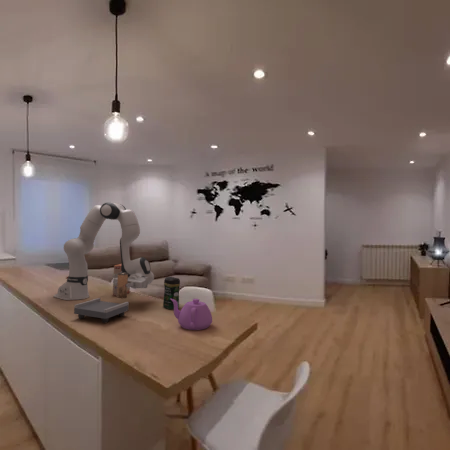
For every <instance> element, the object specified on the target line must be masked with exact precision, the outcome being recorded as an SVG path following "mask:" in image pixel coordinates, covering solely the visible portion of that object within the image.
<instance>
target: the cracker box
mask: <svg viewBox="0 0 450 450" xmlns="http://www.w3.org/2000/svg"><path fill="white" fill-rule="evenodd" d="M120 272H122V271H121V263H119V264H115V265H113V279H114V278H118V273H120ZM128 278H129V277H128ZM130 289H131V287H127V294H129V293H130ZM112 296H114V297H117V285H115V284H113V283H112Z"/></svg>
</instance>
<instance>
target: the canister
mask: <svg viewBox="0 0 450 450" xmlns="http://www.w3.org/2000/svg"><path fill="white" fill-rule="evenodd" d="M126 283H128V273H125V272H120V273H118V281H117V296H116V299H127V298H128V293H127V287H126V286H125V285H126Z"/></svg>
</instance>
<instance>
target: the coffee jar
mask: <svg viewBox="0 0 450 450" xmlns="http://www.w3.org/2000/svg"><path fill="white" fill-rule="evenodd" d="M163 287H164V294H163V300H162V301H163V303H162V307H163V308H165V309H168V310H174V304H173V302H172V300H171V299H174V300H176V301H177V304H178V309H179V307H180V287H181V281H180V279H179V277H175V276H167V277H165V278H164V281H163Z"/></svg>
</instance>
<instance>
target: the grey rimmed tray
mask: <svg viewBox="0 0 450 450" xmlns="http://www.w3.org/2000/svg"><path fill="white" fill-rule="evenodd" d="M73 305H74V306H73V307H74V308H73V314H74V315H77V317H78V319H79V320H83V319H85V318H86V317H92V318H99V319H101V322H102V323H103V324H107V323H108V322H109V320H110V318H113V317H115V316H117V315H118V317H124V316H125V314H126V312H127V311H129V301H124V302H123V303H117V302H110V301H104V300H103V301H102V300H101V297H98V298H94V299H91V300H87V301H84V302H80V303H77V304H73Z"/></svg>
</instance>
